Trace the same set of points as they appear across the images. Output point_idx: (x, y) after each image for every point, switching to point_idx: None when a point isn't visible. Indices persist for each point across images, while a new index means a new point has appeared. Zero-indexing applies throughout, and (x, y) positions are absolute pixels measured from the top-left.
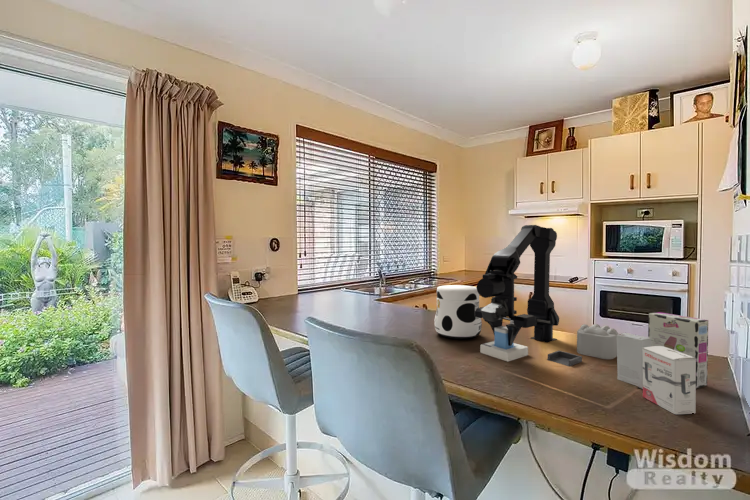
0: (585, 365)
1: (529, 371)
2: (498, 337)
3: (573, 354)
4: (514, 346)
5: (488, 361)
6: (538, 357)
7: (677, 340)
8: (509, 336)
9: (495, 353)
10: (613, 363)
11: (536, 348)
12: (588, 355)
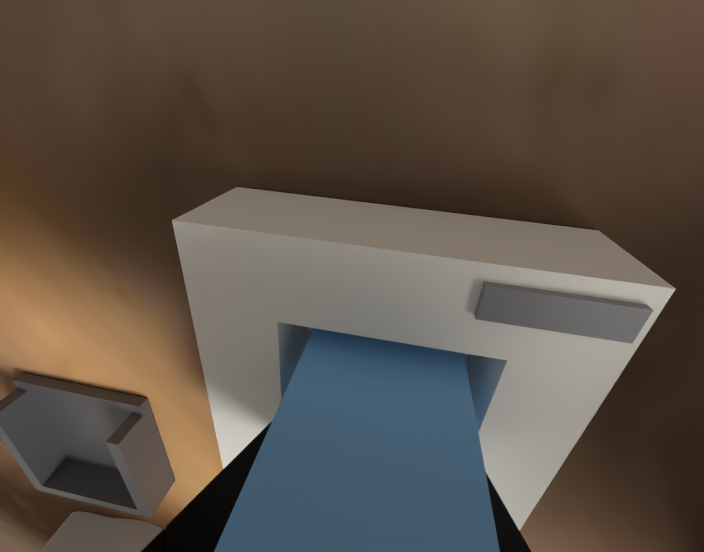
0: None
1: (15, 141)
2: (400, 484)
3: (71, 496)
4: None
5: (395, 65)
6: None
7: None
8: (200, 527)
9: (375, 224)
10: (41, 500)
11: None
12: (117, 528)
